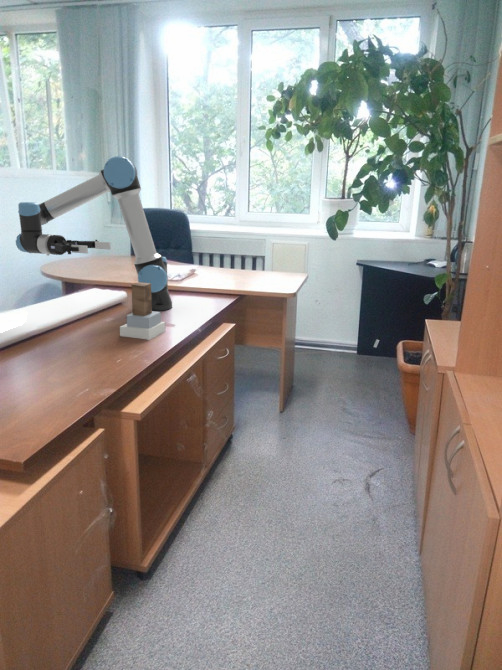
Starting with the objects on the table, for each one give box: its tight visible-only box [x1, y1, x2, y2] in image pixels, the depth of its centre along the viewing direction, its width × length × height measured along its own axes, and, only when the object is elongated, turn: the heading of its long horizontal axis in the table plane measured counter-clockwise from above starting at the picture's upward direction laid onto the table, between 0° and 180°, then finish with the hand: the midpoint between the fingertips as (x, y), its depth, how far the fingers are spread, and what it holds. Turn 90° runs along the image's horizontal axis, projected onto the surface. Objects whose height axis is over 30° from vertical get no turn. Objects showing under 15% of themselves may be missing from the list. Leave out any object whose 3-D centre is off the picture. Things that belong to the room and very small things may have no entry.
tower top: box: [126, 311, 162, 329], centre depth 176 cm, size 9×9×4 cm
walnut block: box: [131, 281, 152, 316], centre depth 173 cm, size 5×5×11 cm
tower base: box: [119, 321, 166, 341], centre depth 177 cm, size 12×12×4 cm
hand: (98, 247), depth 179 cm, fingers open, 13 cm apart
